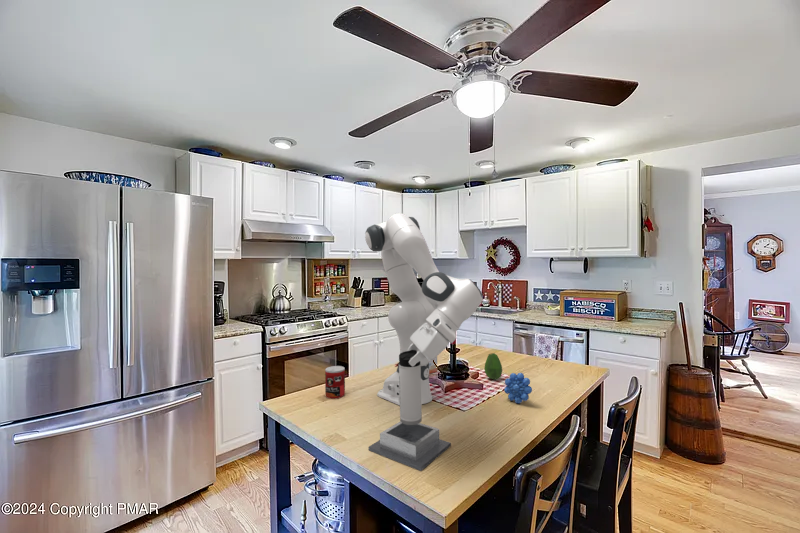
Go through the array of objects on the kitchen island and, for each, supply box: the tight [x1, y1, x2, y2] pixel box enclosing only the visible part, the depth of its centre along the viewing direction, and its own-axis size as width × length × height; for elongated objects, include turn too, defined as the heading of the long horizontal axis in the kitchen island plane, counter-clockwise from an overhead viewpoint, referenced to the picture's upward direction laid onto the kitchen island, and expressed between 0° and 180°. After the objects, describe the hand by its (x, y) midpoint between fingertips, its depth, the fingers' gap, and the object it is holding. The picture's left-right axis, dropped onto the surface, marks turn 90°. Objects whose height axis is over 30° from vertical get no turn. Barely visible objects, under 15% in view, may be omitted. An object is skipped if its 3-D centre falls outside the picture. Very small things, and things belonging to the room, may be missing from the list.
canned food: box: [324, 365, 346, 400], centre depth 150 cm, size 8×8×11 cm
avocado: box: [484, 353, 503, 381], centre depth 170 cm, size 8×8×12 cm
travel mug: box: [398, 350, 423, 425], centre depth 107 cm, size 6×7×20 cm
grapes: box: [503, 372, 533, 405], centre depth 141 cm, size 12×7×12 cm, turn 41°
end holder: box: [368, 421, 452, 472], centre depth 107 cm, size 18×16×5 cm
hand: (407, 360), depth 107 cm, fingers closed on travel mug, 6 cm apart
